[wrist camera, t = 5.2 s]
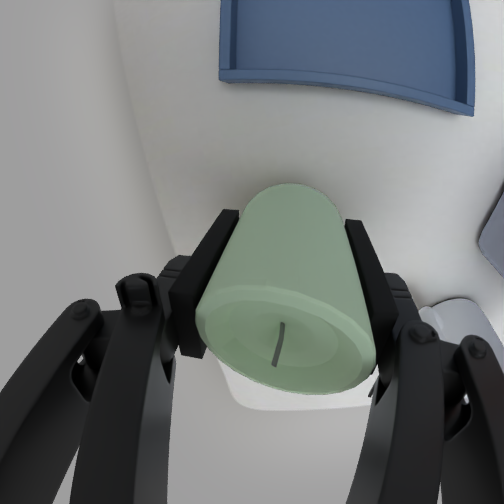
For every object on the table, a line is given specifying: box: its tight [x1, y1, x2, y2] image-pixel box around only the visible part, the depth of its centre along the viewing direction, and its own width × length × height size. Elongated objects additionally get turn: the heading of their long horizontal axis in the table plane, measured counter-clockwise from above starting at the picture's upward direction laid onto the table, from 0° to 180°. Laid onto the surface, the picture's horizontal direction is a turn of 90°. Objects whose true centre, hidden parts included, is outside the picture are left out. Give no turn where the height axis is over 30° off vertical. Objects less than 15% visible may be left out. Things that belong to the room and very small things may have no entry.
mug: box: [418, 299, 504, 403], centre depth 15 cm, size 12×8×10 cm
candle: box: [195, 183, 376, 395], centre depth 10 cm, size 5×5×8 cm
